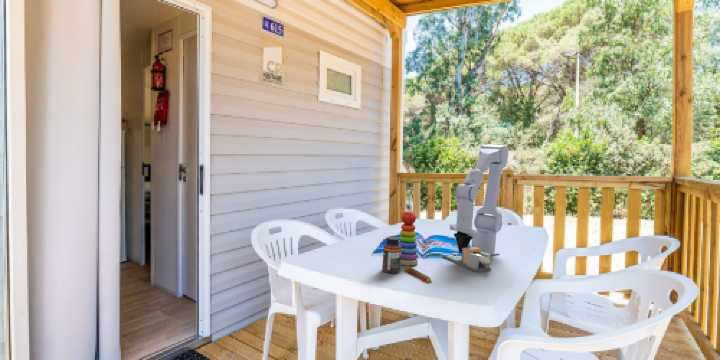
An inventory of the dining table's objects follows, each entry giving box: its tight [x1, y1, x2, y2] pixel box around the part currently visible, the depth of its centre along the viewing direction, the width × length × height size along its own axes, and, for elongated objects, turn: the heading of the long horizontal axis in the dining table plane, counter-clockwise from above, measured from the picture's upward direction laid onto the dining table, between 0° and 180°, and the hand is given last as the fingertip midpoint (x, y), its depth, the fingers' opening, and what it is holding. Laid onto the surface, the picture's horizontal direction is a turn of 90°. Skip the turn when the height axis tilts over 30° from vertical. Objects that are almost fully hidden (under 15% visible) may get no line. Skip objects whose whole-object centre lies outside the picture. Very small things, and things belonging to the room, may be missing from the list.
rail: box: [443, 252, 492, 273], centre depth 144 cm, size 18×7×6 cm, turn 23°
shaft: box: [460, 246, 492, 266], centre depth 139 cm, size 12×5×5 cm, turn 23°
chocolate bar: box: [404, 265, 433, 284], centre depth 126 cm, size 3×12×2 cm, turn 28°
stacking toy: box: [398, 210, 419, 267], centre depth 140 cm, size 8×8×19 cm
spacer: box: [463, 246, 481, 264], centre depth 141 cm, size 3×5×6 cm, turn 113°
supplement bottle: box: [382, 236, 401, 274], centre depth 130 cm, size 6×6×11 cm
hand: (462, 252), depth 146 cm, fingers closed
